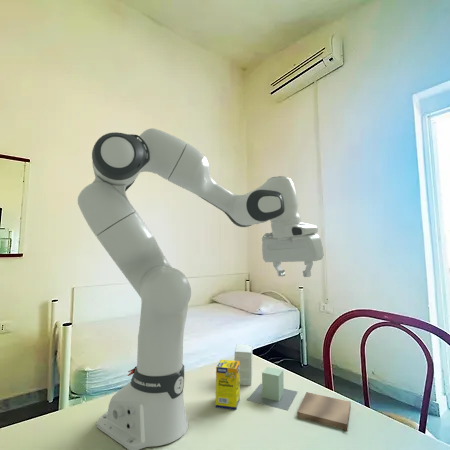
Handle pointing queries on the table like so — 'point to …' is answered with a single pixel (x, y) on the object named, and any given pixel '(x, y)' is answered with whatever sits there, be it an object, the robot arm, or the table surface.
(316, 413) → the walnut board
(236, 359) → the small box
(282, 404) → the gray tile
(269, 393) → the sage block
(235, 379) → the supplement box
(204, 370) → the table surface
